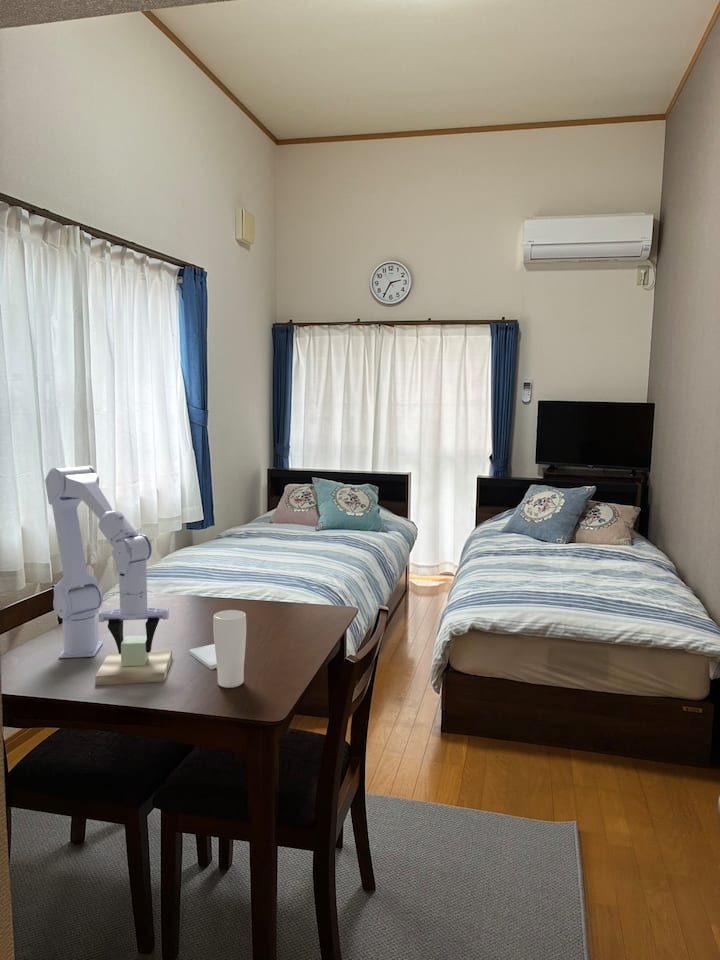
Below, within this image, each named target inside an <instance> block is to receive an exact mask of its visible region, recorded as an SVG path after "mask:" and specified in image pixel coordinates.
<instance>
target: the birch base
mask: <svg viewBox="0 0 720 960" xmlns="http://www.w3.org/2000/svg"><path fill="white" fill-rule="evenodd" d="M172 661H173V649H163V650H162V649H161V650H160V649H159V650H151V651H150V653H149V658H148V660H147V662H146V665H145V666H121V654H119V651H116V652H108V654H107V656H106V657H105V659H104V661H103V662H102V664H101V666H100V667H99V669H98V670H97V672H96V674H95V675H94V679H95V680H94V681H95V682H94V683H95V684H94V685H95V686H107V685H123V684H124V685H126V684H127V685H128V684H145V683H146V684H147V683H164V682H165V681H166V678H167V675H168V673H169V669H170V666H171V663H172Z"/></svg>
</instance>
